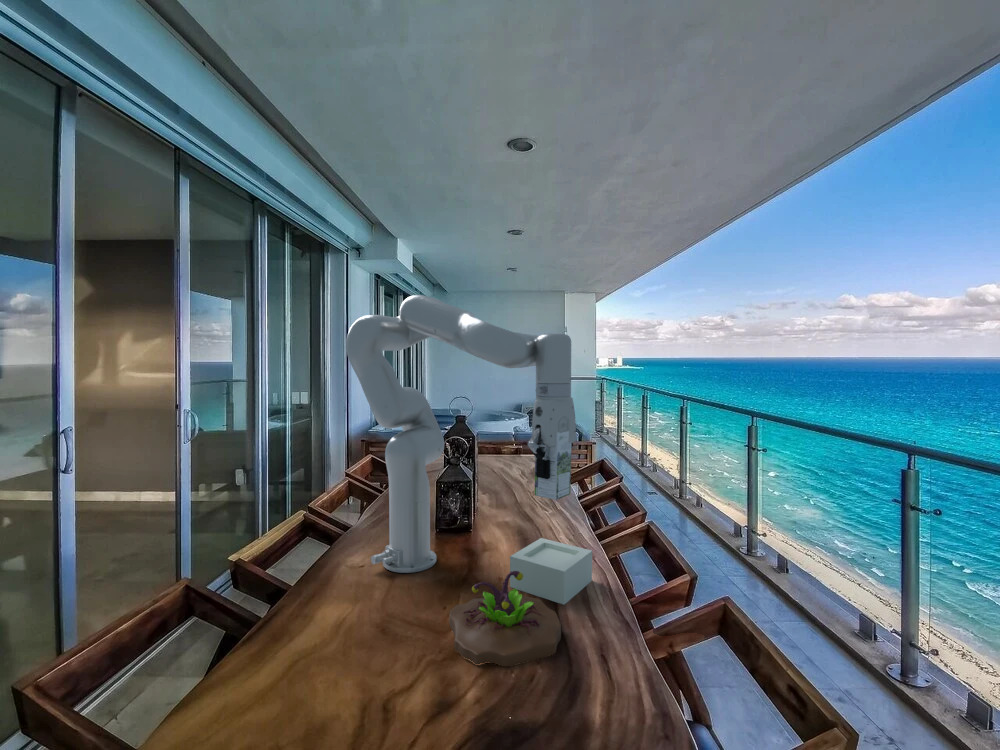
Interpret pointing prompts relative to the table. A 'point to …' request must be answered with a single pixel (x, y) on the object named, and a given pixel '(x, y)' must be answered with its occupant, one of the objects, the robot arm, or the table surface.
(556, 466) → the syrup box
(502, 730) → the table surface
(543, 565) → the sage block
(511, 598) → the plant
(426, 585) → the table surface
